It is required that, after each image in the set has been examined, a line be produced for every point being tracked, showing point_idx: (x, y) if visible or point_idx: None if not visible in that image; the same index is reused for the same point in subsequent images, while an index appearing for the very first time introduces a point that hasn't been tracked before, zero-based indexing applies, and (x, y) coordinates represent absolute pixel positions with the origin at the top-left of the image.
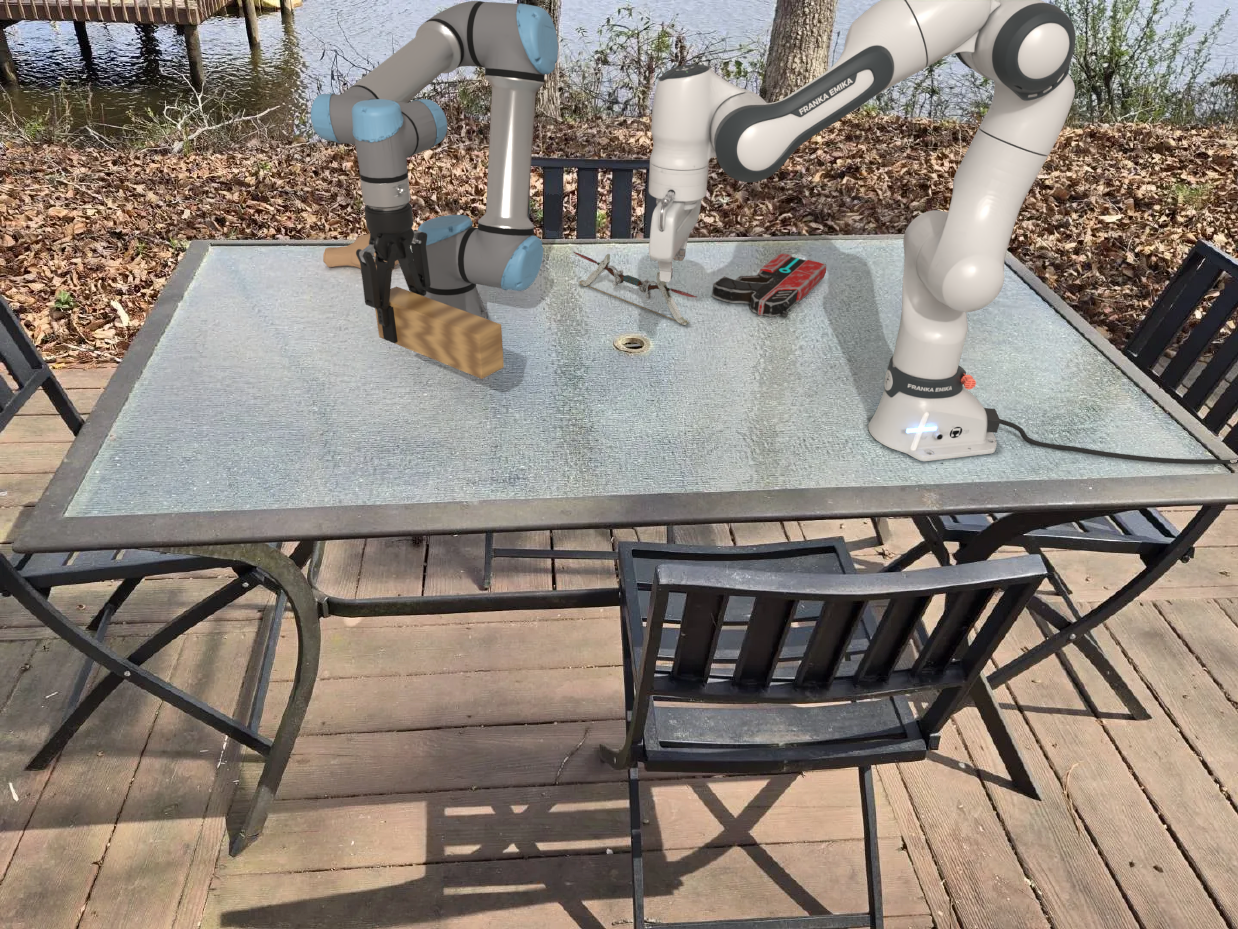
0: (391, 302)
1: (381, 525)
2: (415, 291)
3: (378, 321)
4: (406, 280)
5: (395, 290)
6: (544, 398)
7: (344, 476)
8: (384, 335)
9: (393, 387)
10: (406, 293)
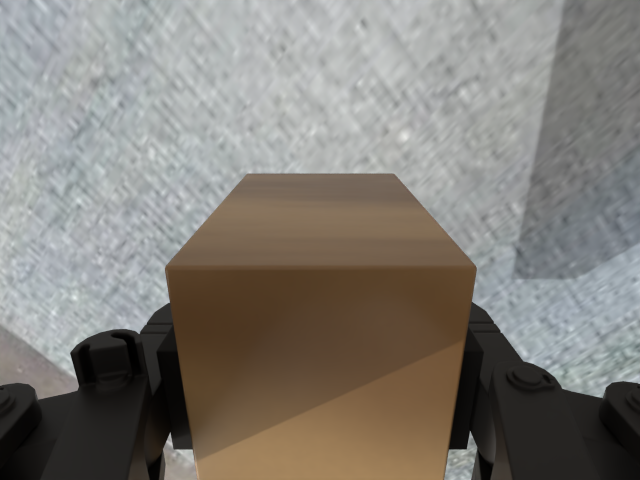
0: (196, 467)
1: None
2: (481, 444)
3: (153, 315)
4: (506, 477)
5: (391, 332)
6: (536, 353)
7: (54, 263)
8: None
9: (383, 28)
10: (398, 437)
